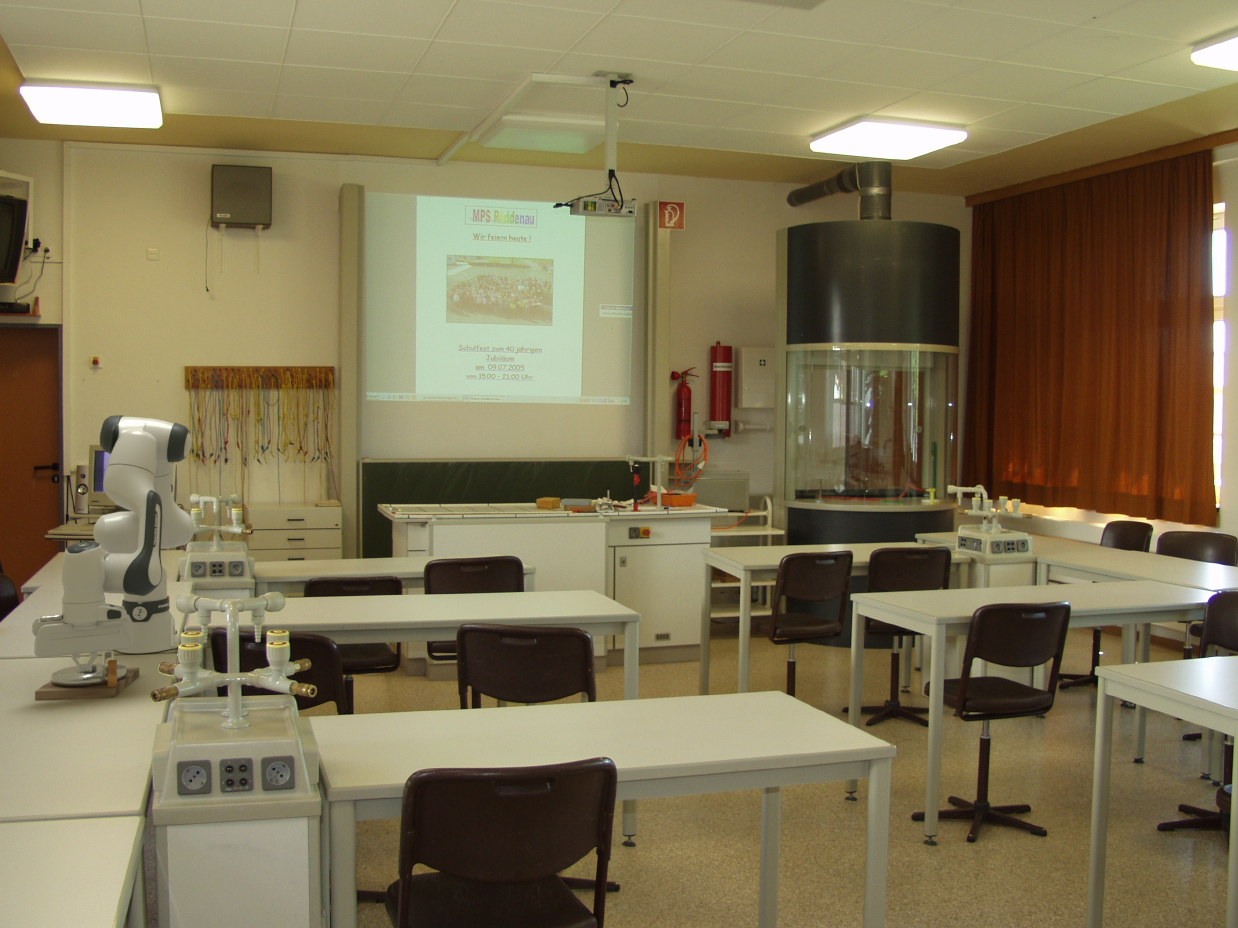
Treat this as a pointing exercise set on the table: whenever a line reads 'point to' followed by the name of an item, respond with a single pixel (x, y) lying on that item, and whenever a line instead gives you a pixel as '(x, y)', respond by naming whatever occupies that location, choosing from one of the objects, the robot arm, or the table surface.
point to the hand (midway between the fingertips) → (84, 671)
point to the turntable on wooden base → (90, 691)
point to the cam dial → (88, 673)
